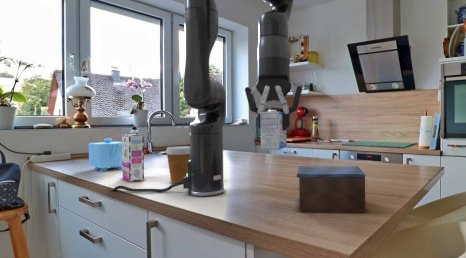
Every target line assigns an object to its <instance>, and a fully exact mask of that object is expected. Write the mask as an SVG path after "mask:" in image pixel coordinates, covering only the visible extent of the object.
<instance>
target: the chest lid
mask: <svg viewBox="0 0 466 258" xmlns="http://www.w3.org/2000/svg"><path fill="white" fill-rule="evenodd" d="M299 177H363V178H365V179H366V173H365V172H364V171H363V170H362V169H361V168H360V167H359V166H358V165H299V166H298V169H297V172H296V178H299Z"/></svg>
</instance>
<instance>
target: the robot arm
mask: <svg viewBox="0 0 466 258" xmlns="http://www.w3.org/2000/svg"><path fill="white" fill-rule="evenodd" d="M183 2H184V3H183V4H184V5H183V6H184V7H183V8H184V9H183V10H184V11H183V14H184V19H183V21H184V68H183V82H182V95H183V100H184V102H185V104H186V105H187V106H188V107H189V108H191V109H193V110H197V116H196V118H195V120H194V121H193V122H191V123H190V124H189V146H190V160H189V161H188V162H187V172H188V174H187V176H186V177H184V178H183V181H180V182H177V183H171V184H170V185H169V186H168V187H166V188H132V187H129V186H126V185H117V186H115V187H114V188H112V190H111V192H113V193H114V192H116V191H117V190H120V189H122V190H125V191H128V192H131V193H165V192H168V191H171V190H172V189H173V188H175V187H178V186H181V185H182V186H183V187H182V189H183V190H187V195H189V196H196V197H210V196H216V195H220V194H223V193H224V191H225V187H224V186H225V184H224V182H225V181H224V135H223V132H224V131H223V129H224V126H225V124H226V123H225V122H226V109H227V107H226V103H227V96H226V91H225V90H226V89H225V87H224V85H223V84H222V83H221V82H220V81H219V80H217V79H214V78H211V73H210V57H211V53H212V50H213V48H214V46H215V43H216V41H217V38H218V35H219V7H218V4H217V1H216V0H184V1H183ZM262 2H264V3H267V4H268V5H269V7H270V8H269V10H267V11H264V12H263V13H261V14H260V15H259V18H258V42H257V43H258V44H257V54H256V57H257V82H256V84H255V85H253V86H250V87H249V86H246V87H245V88H244V91H245V96H246V99H247V103H248V107H249V110H250V112H252V113H255V114H257V127H258V128H259V129H261V112H266V108H267V107H268V104H269V102H273V101H275V102H279V103H280V105H281V107H282V110H283V111H282V112H284V114H283V130H286V131H287V130H288V129H289V128H290V126H291V114H293V113H295V112H297V111H298V108H299V104H300V101H301V97H302V93H303V87H302V86H300V85H298V86H296V85H292V83H291V80H290V79H291V78H290V75H291V74H290V72H291V71H290V66H291V65H290V43H289V21H290V17H291V14H292V13H291V12H292V9H293V4H294V0H262ZM256 91H257V92H258V93H259V95H260V96H261V97H260V101H259V106H258V107H257V103H256V99H255V96H256V94H257V93H256ZM290 91H292V94H293V96H294V97H293V101H292V105H291V107H289V104H288V101H287V98H286V97H287V95H288V94H289V93H290Z"/></svg>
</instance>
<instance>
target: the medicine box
mask: <svg viewBox="0 0 466 258" xmlns="http://www.w3.org/2000/svg"><path fill="white" fill-rule="evenodd" d="M283 114H284V111H265V112H261V128H260V149H261V150H273V151H275V150H276V151H279V150H282V149H284V148H286V147H287V130H283Z"/></svg>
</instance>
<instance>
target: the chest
mask: <svg viewBox="0 0 466 258" xmlns="http://www.w3.org/2000/svg"><path fill="white" fill-rule="evenodd" d="M298 178H299V179H298V182H299V183H298V189H299V193H298V195H299V198H298V199H299V213H346V214H347V213H351V214H352V213H354V214H357V213H358V214H361V213H362V214H366V177H365V178H363V177H298Z"/></svg>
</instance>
